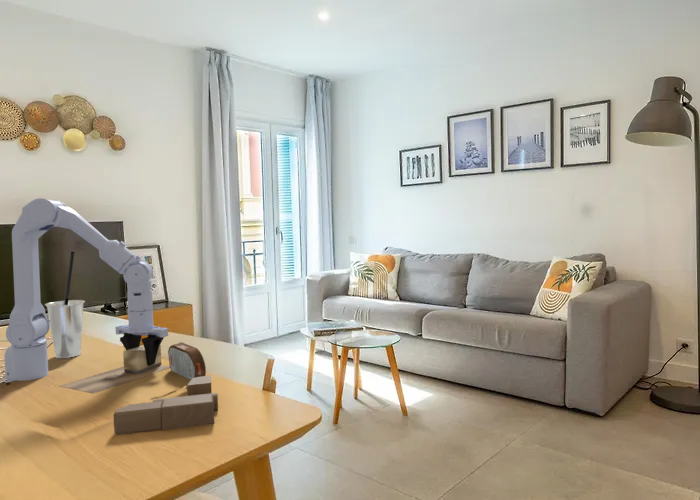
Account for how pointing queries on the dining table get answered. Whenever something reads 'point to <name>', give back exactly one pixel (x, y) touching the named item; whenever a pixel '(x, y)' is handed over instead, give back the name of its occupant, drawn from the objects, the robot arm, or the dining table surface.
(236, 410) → the dining table surface
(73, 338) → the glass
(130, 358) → the block
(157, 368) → the plank
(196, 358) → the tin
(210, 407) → the wooden block set
